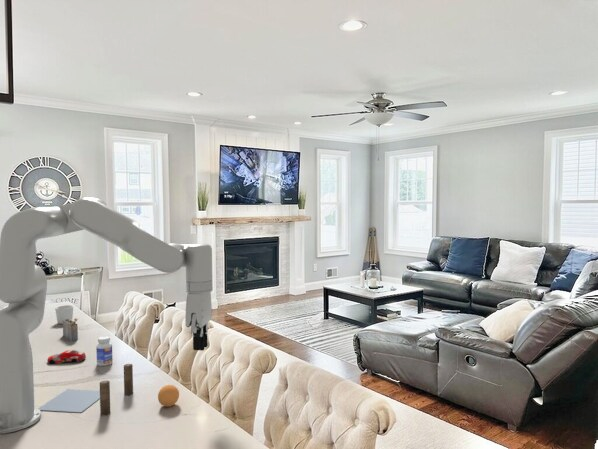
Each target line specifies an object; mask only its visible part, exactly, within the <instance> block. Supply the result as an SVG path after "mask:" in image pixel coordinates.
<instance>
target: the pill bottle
mask: <svg viewBox="0 0 598 449" xmlns="http://www.w3.org/2000/svg"><path fill="white" fill-rule="evenodd" d="M110 341H111V337H110V336H99V337H98V338H97V342H98V343H97V344H96V351H95V352H96V365H97V366H100V367H104V366H108V365H111V364H112V363H113V359H114V358H113V343H112V342H110Z"/></svg>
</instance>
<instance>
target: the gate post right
mask: <svg viewBox="0 0 598 449" xmlns="http://www.w3.org/2000/svg"><path fill="white" fill-rule="evenodd" d="M133 367H134V366H133V363H126V364H124V365H123V391H124V392H123V395H124V396H130V395H133V394H134V373H133V371H134V370H133Z"/></svg>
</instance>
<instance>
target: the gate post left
mask: <svg viewBox="0 0 598 449" xmlns="http://www.w3.org/2000/svg"><path fill="white" fill-rule="evenodd" d="M110 389H111V386H110V380H103V381H100V382H99V391H100V399H99V407H100V409H99V410H100V416H101V417H102V416H103V415H105V416H108V415H110V414H111V394H110V393H111V390H110Z"/></svg>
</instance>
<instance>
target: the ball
mask: <svg viewBox="0 0 598 449" xmlns="http://www.w3.org/2000/svg"><path fill="white" fill-rule="evenodd" d="M179 398H180V390H179V389H178V388H177V387H176V386H175V385H173V384H166V385H164V386H163V387H161V389H159V390H158V393H157V399H158V402H159V404H160V405H161V406H163V407H172V406H173V405H175V404H176V403H177V402H178V400H179Z"/></svg>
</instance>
